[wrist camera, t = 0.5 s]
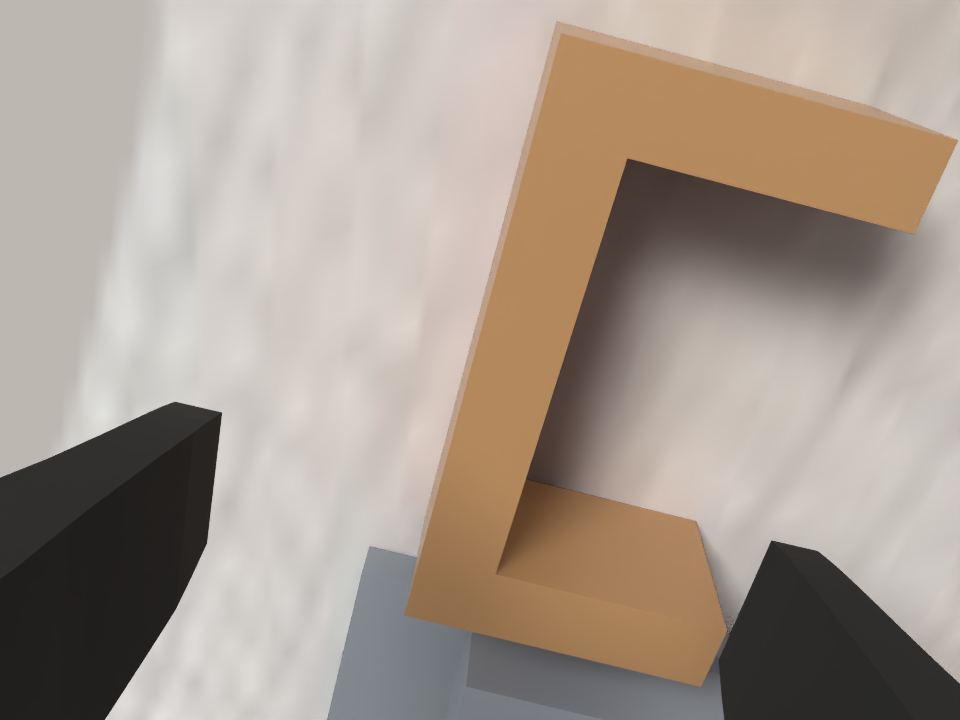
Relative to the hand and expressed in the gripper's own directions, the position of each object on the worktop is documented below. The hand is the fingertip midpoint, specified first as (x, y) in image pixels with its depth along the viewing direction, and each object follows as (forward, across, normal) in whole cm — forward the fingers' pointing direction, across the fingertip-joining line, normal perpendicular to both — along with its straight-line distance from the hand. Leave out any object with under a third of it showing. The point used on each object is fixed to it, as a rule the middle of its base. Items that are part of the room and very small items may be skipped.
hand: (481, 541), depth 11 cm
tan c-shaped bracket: (+9, -3, 0) cm, 10 cm away
